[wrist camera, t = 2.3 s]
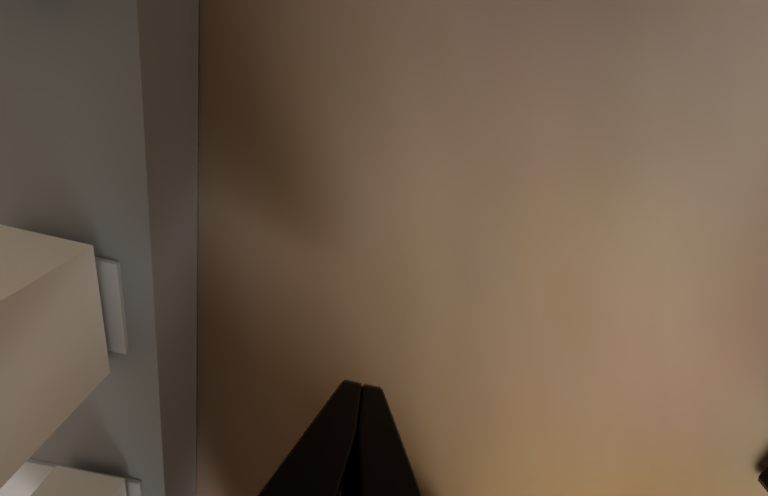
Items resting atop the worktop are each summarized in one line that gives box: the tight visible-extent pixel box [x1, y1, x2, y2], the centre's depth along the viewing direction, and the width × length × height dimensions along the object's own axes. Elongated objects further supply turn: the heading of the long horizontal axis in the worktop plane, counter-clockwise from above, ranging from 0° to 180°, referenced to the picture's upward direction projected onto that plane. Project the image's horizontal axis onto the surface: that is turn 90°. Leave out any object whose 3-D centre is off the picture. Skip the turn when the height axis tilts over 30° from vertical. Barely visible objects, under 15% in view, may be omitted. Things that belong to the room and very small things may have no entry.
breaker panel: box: [0, 0, 199, 496], centre depth 10 cm, size 8×22×2 cm, turn 167°
